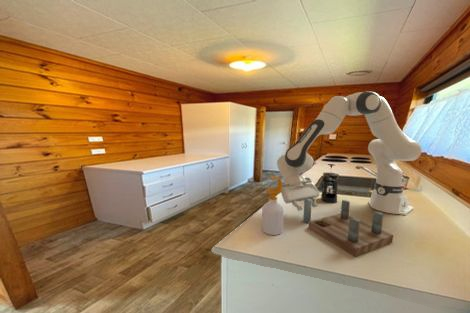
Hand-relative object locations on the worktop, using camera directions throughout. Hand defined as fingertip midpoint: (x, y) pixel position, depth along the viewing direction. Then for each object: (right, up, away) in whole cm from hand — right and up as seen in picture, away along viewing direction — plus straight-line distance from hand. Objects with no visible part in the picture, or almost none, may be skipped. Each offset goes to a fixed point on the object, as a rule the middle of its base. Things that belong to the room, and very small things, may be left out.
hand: (308, 208), depth 93 cm
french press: (+24, -3, +30) cm, 38 cm away
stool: (+13, -8, -10) cm, 18 cm away
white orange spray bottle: (-18, -8, -7) cm, 21 cm away
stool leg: (0, -7, +1) cm, 7 cm away
